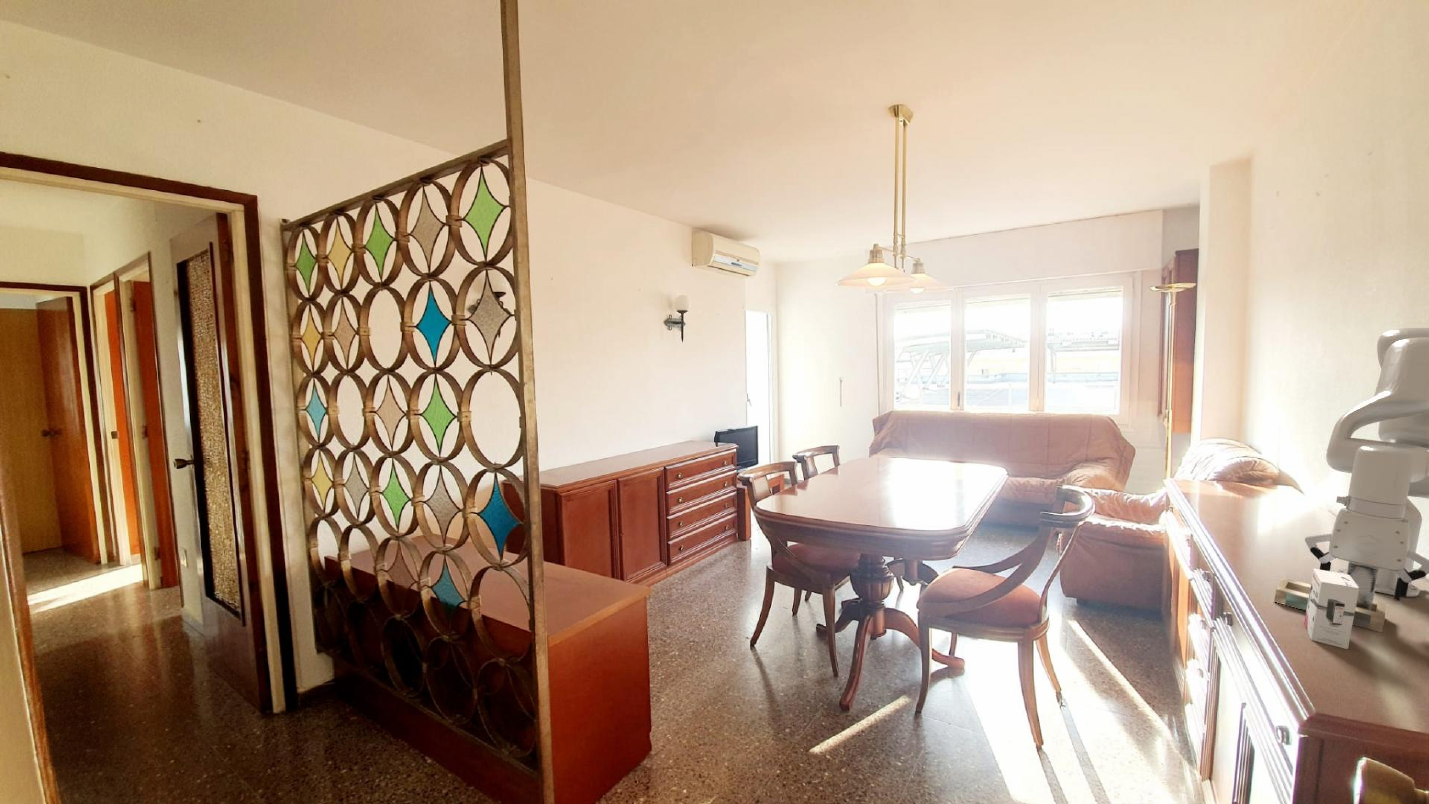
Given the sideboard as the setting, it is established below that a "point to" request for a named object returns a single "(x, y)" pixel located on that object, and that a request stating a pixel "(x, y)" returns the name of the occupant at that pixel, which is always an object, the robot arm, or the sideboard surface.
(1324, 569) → the robot arm
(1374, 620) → the socket block
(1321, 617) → the ink box
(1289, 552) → the sideboard surface
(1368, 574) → the peg
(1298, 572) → the sideboard surface
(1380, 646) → the sideboard surface
